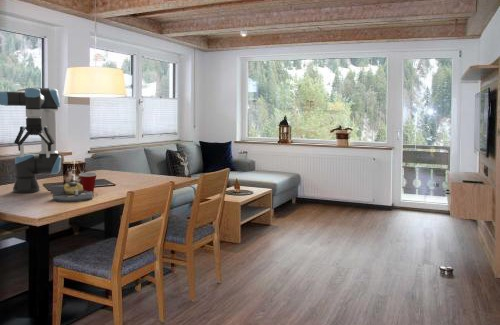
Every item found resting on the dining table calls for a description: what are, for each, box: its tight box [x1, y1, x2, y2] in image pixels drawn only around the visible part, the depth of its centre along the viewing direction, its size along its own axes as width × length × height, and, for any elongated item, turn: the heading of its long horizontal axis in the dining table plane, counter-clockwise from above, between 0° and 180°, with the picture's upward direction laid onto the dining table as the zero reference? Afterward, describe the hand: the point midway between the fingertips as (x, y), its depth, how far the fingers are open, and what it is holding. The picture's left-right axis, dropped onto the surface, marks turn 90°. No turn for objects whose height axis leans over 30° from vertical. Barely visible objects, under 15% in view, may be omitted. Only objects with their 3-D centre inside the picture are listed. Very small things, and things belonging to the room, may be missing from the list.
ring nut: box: [50, 181, 83, 195], centre depth 272 cm, size 18×11×6 cm, turn 114°
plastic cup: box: [78, 171, 98, 193], centre depth 293 cm, size 11×11×12 cm
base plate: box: [52, 190, 94, 203], centre depth 274 cm, size 22×22×6 cm
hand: (35, 157), depth 250 cm, fingers open, 13 cm apart
